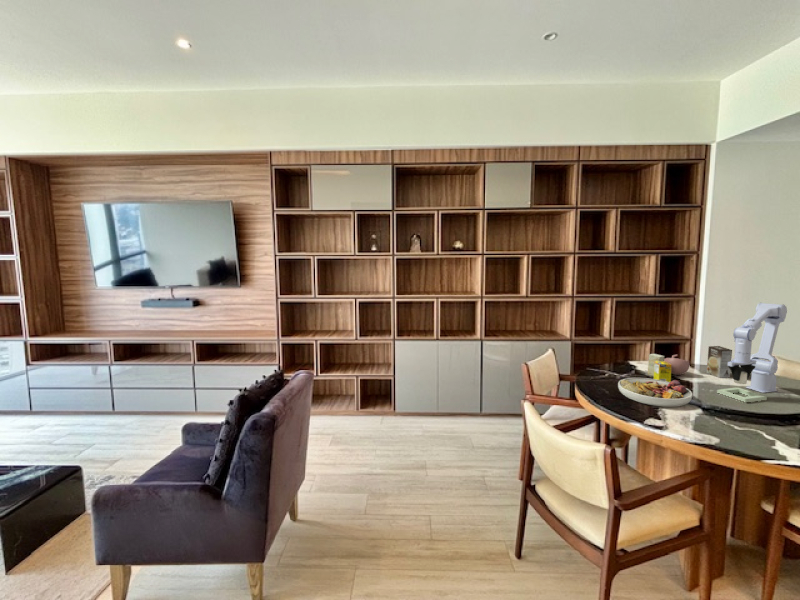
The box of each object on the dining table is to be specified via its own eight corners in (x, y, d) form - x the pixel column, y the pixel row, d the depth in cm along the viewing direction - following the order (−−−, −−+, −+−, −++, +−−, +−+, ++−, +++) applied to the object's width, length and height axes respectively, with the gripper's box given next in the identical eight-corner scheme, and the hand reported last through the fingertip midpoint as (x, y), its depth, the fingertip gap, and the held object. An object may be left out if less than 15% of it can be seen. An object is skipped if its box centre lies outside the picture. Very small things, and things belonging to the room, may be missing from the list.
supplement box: (670, 384, 198) (672, 364, 196) (658, 383, 199) (659, 364, 198) (665, 380, 204) (666, 361, 202) (653, 380, 205) (654, 361, 203)
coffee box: (705, 372, 214) (707, 346, 212) (716, 372, 214) (718, 345, 212) (719, 378, 205) (721, 350, 203) (730, 377, 205) (732, 349, 203)
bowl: (651, 412, 164) (652, 395, 164) (604, 389, 194) (604, 374, 193) (708, 406, 169) (710, 390, 168) (654, 384, 198) (655, 370, 198)
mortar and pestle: (688, 373, 215) (690, 354, 213) (688, 378, 205) (690, 358, 204) (663, 369, 222) (664, 351, 221) (662, 375, 213) (663, 355, 211)
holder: (737, 391, 185) (737, 387, 185) (766, 400, 173) (766, 396, 173) (716, 393, 183) (717, 389, 183) (744, 403, 171) (745, 399, 171)
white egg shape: (738, 380, 181) (739, 370, 180) (749, 383, 176) (749, 373, 176) (731, 381, 180) (731, 371, 180) (741, 384, 176) (742, 374, 175)
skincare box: (647, 374, 214) (648, 354, 213) (652, 373, 216) (653, 353, 214) (658, 377, 208) (659, 356, 207) (663, 376, 210) (664, 355, 209)
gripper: (745, 349, 182) (743, 375, 183) (721, 351, 179) (719, 378, 181) (762, 352, 175) (759, 380, 176) (737, 354, 172) (735, 382, 174)
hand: (740, 379), depth 178 cm, fingers closed on white egg shape, 5 cm apart
